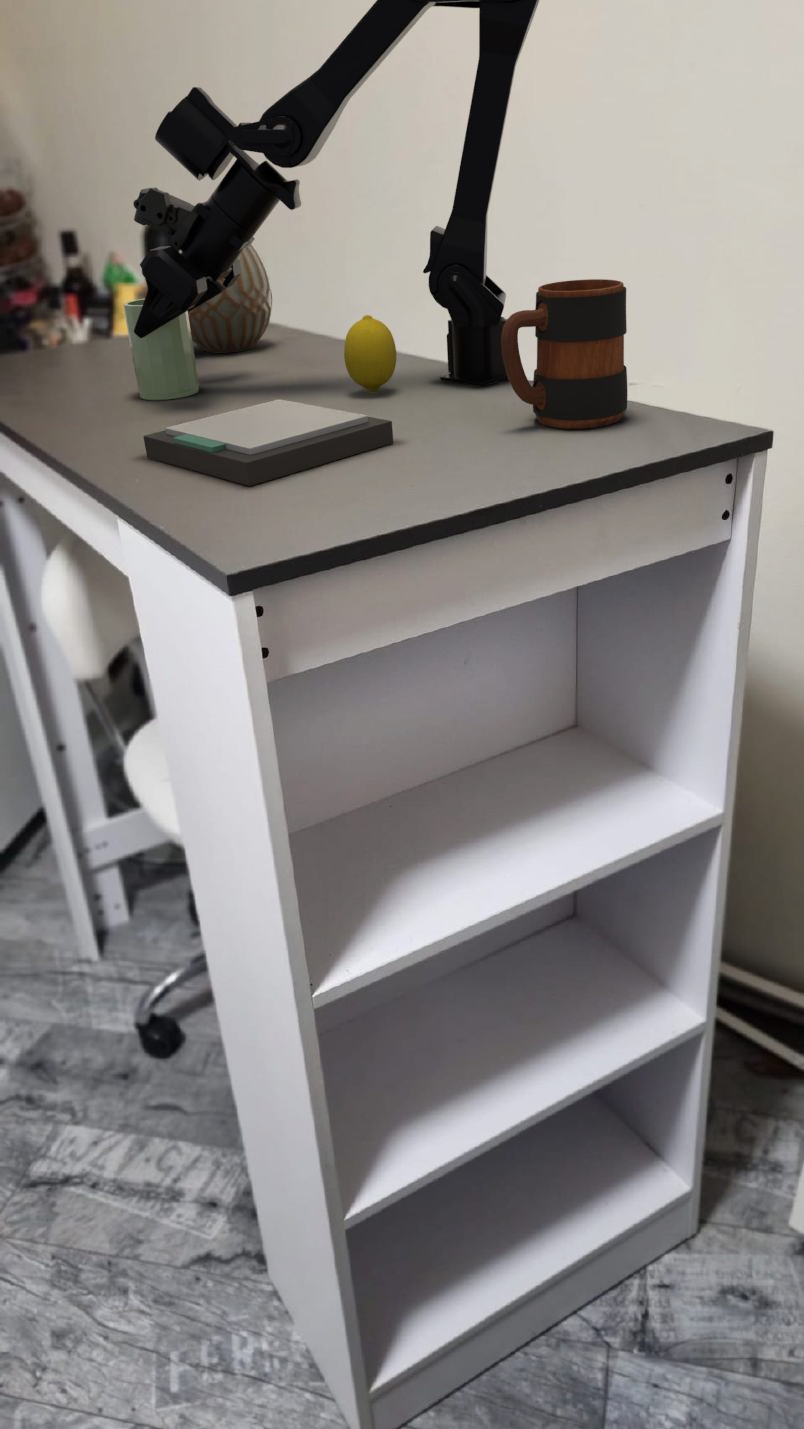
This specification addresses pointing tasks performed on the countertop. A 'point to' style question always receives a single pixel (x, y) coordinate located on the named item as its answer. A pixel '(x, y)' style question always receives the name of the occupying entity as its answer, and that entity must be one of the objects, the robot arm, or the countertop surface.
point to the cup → (162, 357)
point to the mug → (573, 353)
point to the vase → (235, 310)
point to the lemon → (370, 353)
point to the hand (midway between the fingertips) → (151, 328)
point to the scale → (267, 440)
